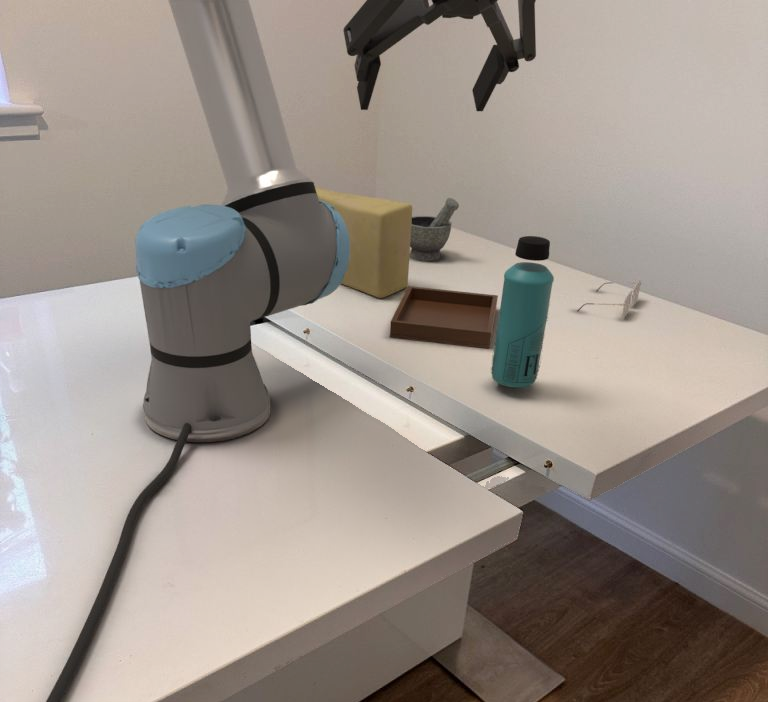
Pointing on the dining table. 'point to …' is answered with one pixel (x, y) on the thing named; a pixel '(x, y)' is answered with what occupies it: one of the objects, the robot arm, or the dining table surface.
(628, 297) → the eyeglasses
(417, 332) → the tray
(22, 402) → the dining table surface
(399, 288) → the cheese
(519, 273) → the beverage bottle
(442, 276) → the dining table surface
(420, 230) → the mortar and pestle
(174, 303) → the robot arm
